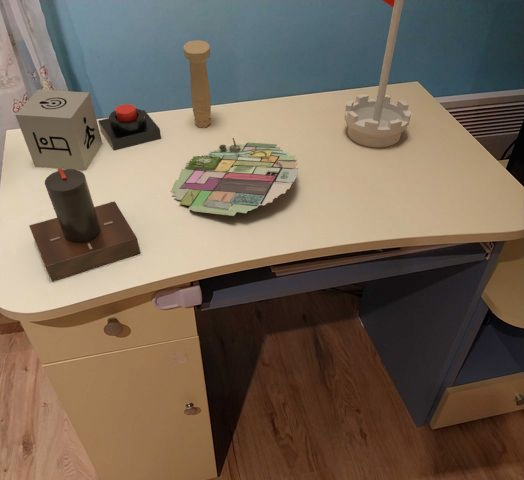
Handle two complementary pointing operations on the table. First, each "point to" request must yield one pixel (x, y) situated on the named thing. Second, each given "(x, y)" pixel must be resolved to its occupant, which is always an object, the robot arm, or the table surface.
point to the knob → (73, 205)
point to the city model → (235, 178)
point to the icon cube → (60, 129)
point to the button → (126, 112)
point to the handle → (199, 80)
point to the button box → (129, 130)
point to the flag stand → (379, 102)
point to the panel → (85, 244)
